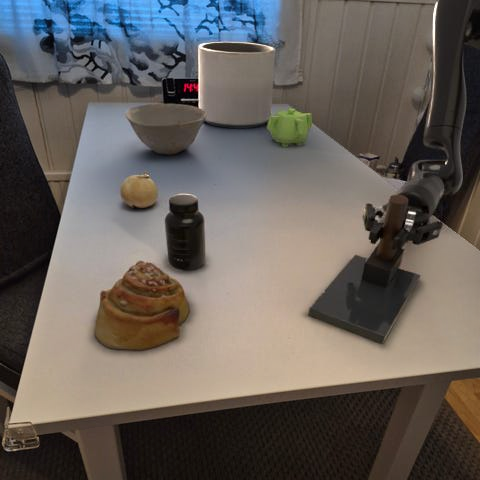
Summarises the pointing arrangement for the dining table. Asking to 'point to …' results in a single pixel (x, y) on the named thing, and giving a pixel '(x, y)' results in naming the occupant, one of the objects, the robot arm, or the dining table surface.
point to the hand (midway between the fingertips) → (384, 241)
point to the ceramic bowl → (166, 126)
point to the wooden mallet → (387, 245)
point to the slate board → (364, 301)
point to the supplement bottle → (185, 233)
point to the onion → (139, 191)
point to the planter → (236, 83)
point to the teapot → (289, 126)
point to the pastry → (141, 309)
